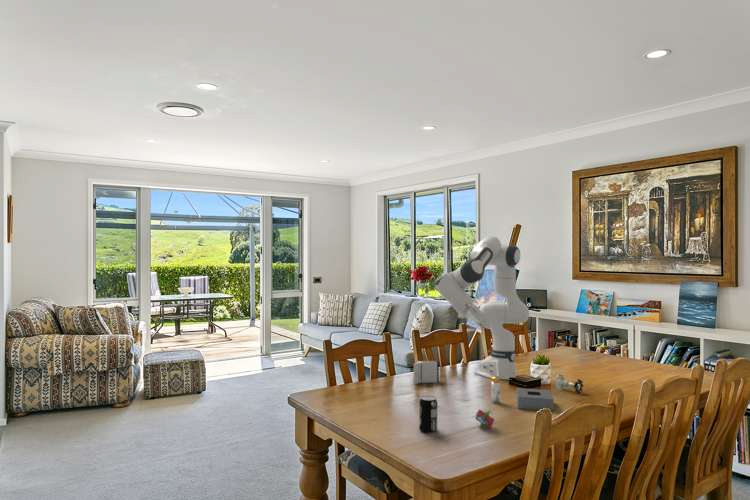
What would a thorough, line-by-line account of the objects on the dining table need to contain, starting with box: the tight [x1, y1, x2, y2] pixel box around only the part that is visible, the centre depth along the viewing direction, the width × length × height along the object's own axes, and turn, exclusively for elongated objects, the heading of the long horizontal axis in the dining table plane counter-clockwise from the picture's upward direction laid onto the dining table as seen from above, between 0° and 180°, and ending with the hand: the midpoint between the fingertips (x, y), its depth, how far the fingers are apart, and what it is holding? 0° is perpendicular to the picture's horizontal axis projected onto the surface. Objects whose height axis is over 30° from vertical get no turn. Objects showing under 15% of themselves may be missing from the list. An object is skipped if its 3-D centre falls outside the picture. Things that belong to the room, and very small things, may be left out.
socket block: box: [515, 387, 554, 412], centre depth 216 cm, size 14×14×5 cm
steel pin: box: [490, 376, 501, 405], centre depth 220 cm, size 4×4×11 cm
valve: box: [555, 374, 584, 394], centre depth 239 cm, size 7×7×12 cm
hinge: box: [413, 360, 440, 385], centre depth 254 cm, size 14×5×10 cm, turn 106°
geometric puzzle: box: [475, 409, 495, 430], centre depth 188 cm, size 7×7×8 cm
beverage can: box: [418, 394, 438, 434], centre depth 185 cm, size 7×7×12 cm
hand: (485, 327), depth 220 cm, fingers open, 8 cm apart
